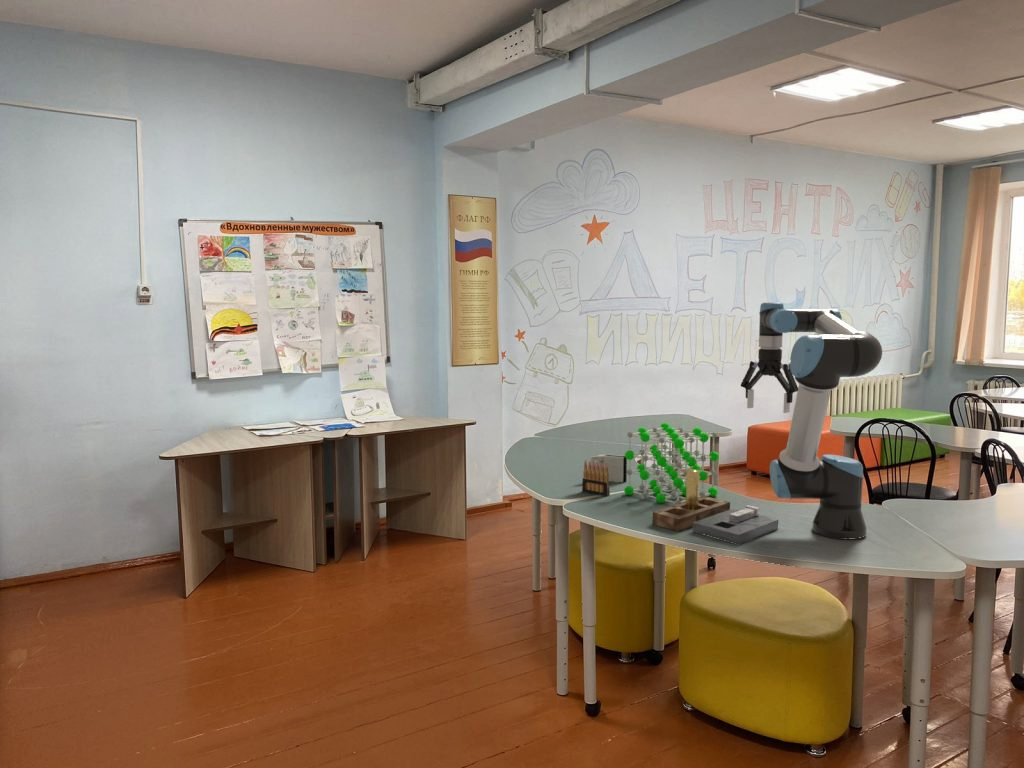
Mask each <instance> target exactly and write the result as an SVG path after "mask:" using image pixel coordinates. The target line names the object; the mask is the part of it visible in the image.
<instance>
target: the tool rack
mask: <svg viewBox="0 0 1024 768" xmlns="http://www.w3.org/2000/svg"><path fill="white" fill-rule="evenodd" d="M728 510H731V501H728V500H723V499H718V498H714V497H711V496H710V497H709V496H707V495H706V496H703V497H699V507H698V510H695V511H694V510H690V509H686V502H684V503H680V504H677V505H676V504H675V505H671V506H668V507H665V508H662V509H659V510H655V511H652V521H651V522H652V523H651V525H653V524H655V525H654V526H656V525H658V526H657V527H660V526H661V527H660V528H664V527H665V528H664V529H667V528H669V529H668V530H671V529H672V530H671V531H674V530H675V532H682V531H684V529H685V530H687V528H688V529H690V527H691V528H693V527H692V526H693V522H695V521H698V520H701V519H704V518H707V517H710V516H713V515H716V514H719V513H722V512H725V511H728ZM681 530H682V531H681Z"/></svg>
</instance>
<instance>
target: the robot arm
mask: <svg viewBox="0 0 1024 768" xmlns="http://www.w3.org/2000/svg"><path fill="white" fill-rule="evenodd" d="M784 307H785V306H784V303H783V302H762V303H760V308H759V312H758V313H759V332H758V333H759V334H758V335H759V336H758V337H759V338H758V347H759V349H758V361H757V360H752V361H749V366H748V369H747V371H746V373H745V375H744V377H743V379H742V381H741V383H740V387H741V388H744V389H745V399H747V400H746V401H747V402H746V406H747V407H746V408H747V409H752V408H754V402H755V401H754V398H755V397H754V396H755V389H754V388H753V387H754V386H755V385H756V384H757V383H758V381H759V380H760V379H761V378H762V377H763V376H769V377H775V378H776V379H777V381H778V383H779V384H780V385H781V386H782V388H783V389H784V391H785V393H783V410H782V412H783V413H784V414H787V413H790V412H791V411H790V410H791V403H793V399H794V398H793V394H794V393H796V399H795V403H794V408H793V413H792V417H791V418H792V419H791V423H790V428H789V432H788V433H789V434H788V439H787V444H786V448H784V449H783V450H781V451H780V453H779V455H778V459H774V460H771V461H770V463H769V464H770V465H769V477H770V483H771V487H772V490H773V493H774V494H775V496H776V497H777V498H779V499H786V500H787V499H789V500H793V499H795V500H796V499H797V500H798V499H799V500H801V499H803V500H804V499H805V500H808V499H809V500H810V499H811V500H815V499H816V500H819V505H818V509H817V511H816V514H815V515H814V519H813V521H812V528H811V529H812V531H813V532H814V533H815V534H818V535H820V536H823V537H827V538H830V537H832V538H831V539H836V538H847V539H846V540H850V539H849V538H859V537H863V536H865V535H866V536H867V525H866V521H865V518H864V515H863V511H862V502H863V501H862V499H863V485H864V483H863V482H864V478H865V477H864V467H863V464H862V463H861V461H859V460H857V459H855V458H852V457H851V458H850V457H847V456H842V455H839V454H838V455H837V454H823V455H822V456H821V457H819V456H818V450H819V445H820V441H821V438H822V437H821V436H822V432H823V427H824V424H825V420H826V414H827V412H828V406H829V401H830V396H831V392H832V390H834V389H836V388H837V387H838V386H839V383H840V380H841V378H854V377H855V378H858V377H862V376H865V375H867V374H869V373H870V372H872V371H874V370H875V369H876V368H877V367H878V365H879V363H880V362H881V361H882V357H883V347H882V345H881V342H880V341H879V340H878V338H877V337H875V336H874V335H873V334H871V333H870V332H867V331H864V330H863V331H859V330H857V328H854V327H853V326H851V325H850V324H848V323H847V322H845V321H844V320H842V315H841V311H840V310H838V309H837V308H828V307H827V308H826V307H825V308H784ZM788 333H814V334H807V335H806V334H805V335H802V336H800V337H799V338H798V339H797V340H795V342H794V344H793V346H792V349H791V353H790V357H789V360H790V362H788V363H783V364H782V359H783V358H782V357H783V349H781V348H782V347H783V334H788ZM757 368H758V370H757V371H756V373H755V370H756V369H757ZM781 369H782V371H783V372H782V371H781ZM754 373H755V374H754ZM783 373H784V374H783ZM753 375H754V376H753ZM784 375H785V376H784ZM866 536H865V537H866Z"/></svg>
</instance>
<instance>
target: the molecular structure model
mask: <svg viewBox="0 0 1024 768" xmlns="http://www.w3.org/2000/svg"><path fill="white" fill-rule="evenodd" d="M661 432H662V433H661ZM683 432H684V433H683ZM717 433H718V432H715V431H712V433H706V432H703V430H702V429H701V428H700V427H695V428H693V430H687V429H685V428H684V427H681V426H680V427H678V428H675V427H670V424H669V423H668V422H662V423H661V425H660V427H656V426H653V427H652V428H651V429H649V430H647V428H646V427H643V426H641V427H639V428H638V430H637V432H634V433H633V432H632V431H628V432H627V436H628V450H627V451H625V453H624V456H625V457H626V459H627V461H628V469H627V476H628V485H627V486H625V487H624V490H623V491H624V493H625V495H627V496H632V495H633V494H636V495H640V496H642V497H643V498H653V499H655V500H656V502H657V503H658V504H664V503H665V502H667V503H672V504H675V505H677V504H680V503H684V502H686V477H687V470H689V469H695V470H699V481H701V488H699V498H700V497H703V496H706V497H707V496H708V495H709V496H710V497H711V498H714V497H716V496H718V493H719V491H718V489H717V488H716V487H715V486H714V485H715V480H714V479H715V478H714V477H715V476H716V475H717V472H716V470H715V462H716V461H718V460H719V458H720V455H719V453H718V452H717V451H715V438H717V437H718V434H717ZM632 437H633V438H635V437H636V438H640V440H641V442H640V443H641V445H640V446H641V449H640V450H639V452H634V451H633V450H631V442H632V441H631V438H632ZM710 438H712V451H711V452H710V453H709V454H706V453H705V443H707V442H708V441H709V439H710ZM650 440H652V441H653V445H651V446H650V447H649V449H647V446H648V445H647V443H648V442H649V441H650ZM699 441H700V442H701V443H702V449H701V452H702V453H701V452H700V451H699V450H698V449H699V446H698V445H699V443H698V442H699ZM667 443H668V444H669V445H667ZM688 443H689V444H690V445H689V451H688ZM693 443H695V450H694V451H693ZM672 445H673V447H672ZM659 446H660V447H659ZM667 450H668V451H667ZM639 455H640V456H639ZM648 455H650V456H648ZM693 455H694V456H693ZM699 456H700V457H699ZM634 458H639V459H640V462H641V463H640V464H638V465H637V467H636V469H633V470H632V469H631V460H633V459H634ZM708 459H710V461H712V462H711V463H712V466H711V470H710V471H707V470H705V461H706V460H708ZM647 461H651V462H653V463H652V464H651V465H650V466H647ZM671 461H672V462H671ZM700 461H701V466H700V465H699V464H698V462H700ZM652 469H653V470H652ZM676 469H677V470H676ZM682 469H684V470H683V471H682ZM633 474H634V475H638V476H639V477H640V480H641V481H640V484H639V486H638V487H637V488H634V487H633V486H631V475H633ZM663 475H664V476H663ZM709 476H711V487H709V488H708V490H705V489H704V481H707V479H708V477H709ZM649 478H652V479H650V480H649V482H648V485H647V480H648V479H649ZM663 484H664V485H663ZM665 484H668V485H667V486H665ZM639 490H641V491H643V492H638V491H639ZM647 491H650V492H647ZM664 491H671V492H670V493H669V492H668V493H667V492H664ZM700 491H701V492H700ZM656 495H657V496H656ZM666 495H667V496H666ZM680 495H682V496H680ZM683 495H684V497H683ZM668 498H669V499H668ZM670 498H676V499H675V500H670ZM680 499H682V501H681V500H680Z"/></svg>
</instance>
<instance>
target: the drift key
mask: <svg viewBox="0 0 1024 768" xmlns="http://www.w3.org/2000/svg"><path fill="white" fill-rule="evenodd" d="M739 510H740V511H737V512H734V513H731V514H729V521H733V522H737V523H738V522H741V521H744V520H746V519H749V518H752V517H755V516H759V515H761V511H760V510H761V507H758V506H753V505H748V504H747V505H746V506H745V508H743V509H739Z"/></svg>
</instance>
